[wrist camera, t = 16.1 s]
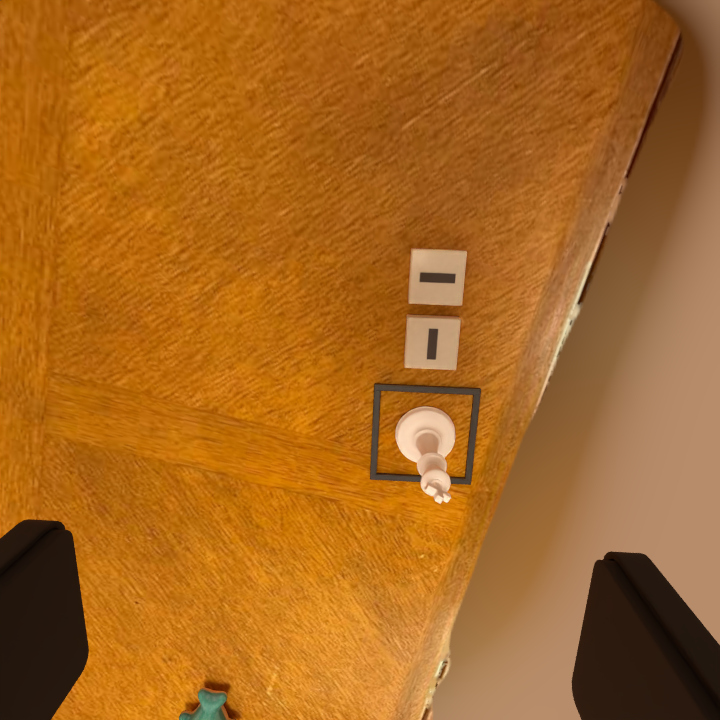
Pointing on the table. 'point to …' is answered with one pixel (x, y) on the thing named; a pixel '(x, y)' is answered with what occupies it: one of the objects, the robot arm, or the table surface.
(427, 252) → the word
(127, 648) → the table surface
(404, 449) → the chess piece
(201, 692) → the whale figurine
